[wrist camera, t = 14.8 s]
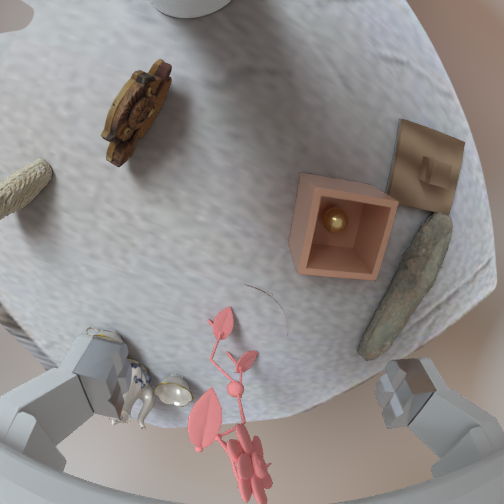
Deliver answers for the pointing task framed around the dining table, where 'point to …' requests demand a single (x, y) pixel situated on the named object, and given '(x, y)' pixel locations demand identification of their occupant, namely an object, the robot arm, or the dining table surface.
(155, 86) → the wooden carving
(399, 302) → the long grey stone
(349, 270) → the terracotta box
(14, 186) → the fossil tooth
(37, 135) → the dining table surface
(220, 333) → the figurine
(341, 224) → the brass ball
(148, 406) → the chinaware
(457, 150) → the walnut lid
